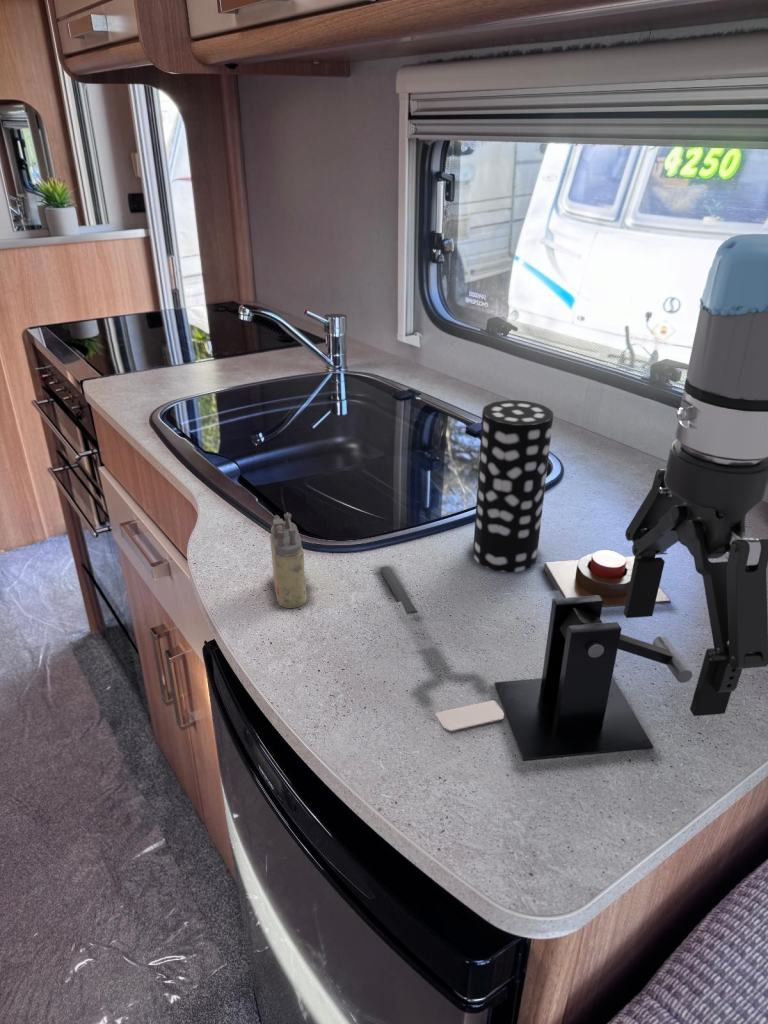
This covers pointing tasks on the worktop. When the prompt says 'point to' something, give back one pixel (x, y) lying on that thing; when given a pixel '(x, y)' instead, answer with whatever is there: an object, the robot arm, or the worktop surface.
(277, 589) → the lighter
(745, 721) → the worktop surface
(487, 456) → the white-spotted black cylinder
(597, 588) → the button block
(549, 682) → the bracket
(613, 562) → the button
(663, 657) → the lever
